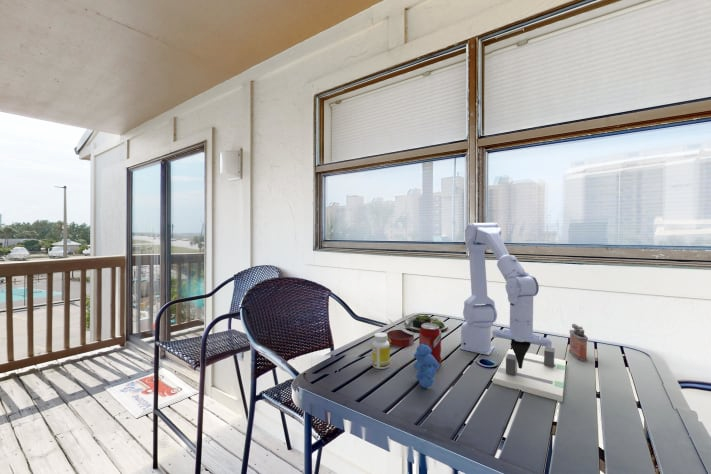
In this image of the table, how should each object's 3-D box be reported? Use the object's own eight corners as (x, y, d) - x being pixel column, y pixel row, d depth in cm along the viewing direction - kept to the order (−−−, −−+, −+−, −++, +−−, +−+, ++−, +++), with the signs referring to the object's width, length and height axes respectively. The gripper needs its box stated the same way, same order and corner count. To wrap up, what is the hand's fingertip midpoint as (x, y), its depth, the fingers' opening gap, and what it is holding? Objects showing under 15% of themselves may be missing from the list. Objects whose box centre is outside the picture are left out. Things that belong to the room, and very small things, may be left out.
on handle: (544, 365, 94) (544, 350, 94) (545, 360, 97) (545, 346, 97) (553, 367, 93) (553, 352, 93) (554, 362, 96) (554, 348, 95)
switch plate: (493, 383, 87) (493, 377, 87) (508, 353, 107) (508, 348, 107) (562, 401, 78) (562, 395, 78) (565, 365, 98) (565, 360, 97)
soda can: (428, 370, 95) (428, 330, 95) (414, 361, 101) (414, 324, 101) (445, 365, 98) (446, 327, 98) (431, 357, 104) (431, 321, 104)
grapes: (448, 397, 80) (449, 351, 80) (423, 400, 79) (423, 353, 79) (431, 375, 92) (431, 335, 91) (409, 377, 91) (409, 336, 90)
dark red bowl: (391, 349, 122) (392, 323, 127) (417, 351, 118) (417, 323, 122) (381, 345, 113) (382, 317, 118) (408, 346, 109) (409, 317, 113)
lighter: (590, 362, 100) (590, 330, 99) (578, 361, 100) (578, 330, 100) (577, 351, 108) (578, 322, 107) (566, 351, 108) (567, 322, 108)
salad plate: (399, 319, 146) (399, 309, 146) (438, 318, 146) (438, 308, 146) (407, 334, 127) (407, 323, 126) (451, 333, 127) (451, 322, 127)
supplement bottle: (392, 363, 100) (391, 332, 99) (386, 370, 95) (386, 338, 94) (375, 360, 102) (375, 330, 102) (369, 367, 97) (369, 336, 97)
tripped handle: (505, 373, 89) (506, 358, 89) (508, 368, 92) (508, 353, 92) (515, 375, 88) (515, 360, 88) (517, 370, 91) (517, 355, 90)
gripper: (490, 318, 89) (489, 365, 89) (550, 327, 80) (549, 380, 81) (495, 312, 95) (494, 356, 95) (552, 320, 86) (551, 369, 87)
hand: (520, 367), depth 89 cm, fingers closed
